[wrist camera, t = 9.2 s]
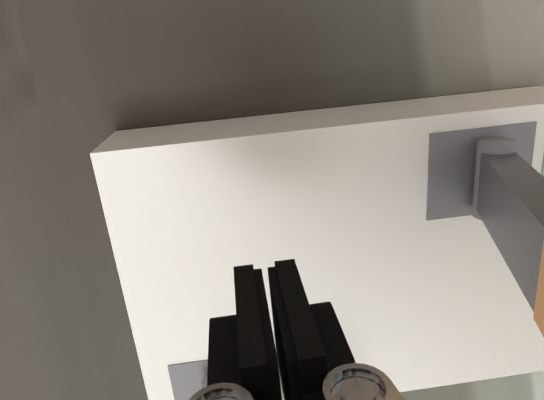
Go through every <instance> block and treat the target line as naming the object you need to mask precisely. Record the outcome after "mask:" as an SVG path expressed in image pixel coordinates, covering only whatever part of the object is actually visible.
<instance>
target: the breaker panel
mask: <svg viewBox="0 0 544 400" xmlns="http://www.w3.org/2000/svg"><path fill="white" fill-rule="evenodd" d="M487 137H505V138H511V139H514V140H516V141H517V145H516V153H517V154H519V155H520V156H521V157H522V158H523V159H524V160H525V161H526V162H527V163H529V164H530V165H531V166H532V167H533V168H534V169H535V170H536V171H537V172H539V173H540V174H541V175H542V176H543V177H544V87H541V86H532V87H522V88H513V89H504V90H494V91H485V92H476V93H466V94H457V95H448V96H438V97H429V98H419V99H410V100H401V101H391V102H382V103H373V104H363V105H354V106H345V107H335V108H326V109H317V110H307V111H298V112H288V113H279V114H270V115H260V116H251V117H242V118H232V119H223V120H214V121H204V122H195V123H186V124H176V125H167V126H157V127H148V128H139V129H129V130H120V131H115V132H114V133H113V134H112V135H110V136H109V137H108V138H107V139H106V140H105V141H104V142H102V143H101V144H100V145H99V146H98V147H97V148H96V149H94V150H93V151H92V152H91V153H90V156H91V160H92V165H93V169H94V173H95V177H96V181H97V185H98V190H99V194H100V198H101V202H102V206H103V211H104V215H105V219H106V223H107V227H108V232H109V236H110V240H111V244H112V248H113V253H114V257H115V261H116V265H117V269H118V274H119V278H120V282H121V286H122V290H123V295H124V299H125V303H126V307H127V311H128V316H129V320H130V324H131V328H132V332H133V337H134V341H135V345H136V349H137V353H138V358H139V362H140V366H141V370H142V374H143V379H144V383H145V387H146V391H147V395H148V400H189V399H190V398H191V397H192V396H193V395H194V394H195V393H196V392H198V391H199V390H201V389H202V384H201V382H202V379H203V377H204V376H205V375H206V374H207V371H208V342H209V320H210V318H215V317H222V316H229V315H236V303H235V286H234V269H233V267H235V266H243V265H250V264H253V268H254V269H260V268H261V269H262V275H263V280H264V286H265V291H266V297H267V303H268V308H269V314H270V320H271V325H272V331H273V337H274V342H275V336H274V326H273V317H272V307H271V297H270V288H269V278H268V267H275V264H274V262H275V261H281V260H288V259H294V260H295V263H296V266H297V269H298V272H299V275H300V278H301V281H302V284H303V287H304V290H305V293H306V296H307V299H308V302H309V304H315V303H322V302H331V304H332V306H333V309H334V311H335V313H336V316H337V318H338V321H339V323H340V325H341V328H342V330H343V333H344V335H345V338H346V340H347V342H348V345H349V347H350V350H351V352H352V355H353V357H354V359H355V362H356V363H361V364H367V365H370V366H373V367H376V368H377V369H379V370H381V371H382V372H384V373H385V374H386V375H387V376H388V377H389V378H390V379H391V381H392V382H393V384H394V385H395V386H396V388H397V389H398V391H399V392H405V391H411V390H418V389H425V388H431V387H438V386H445V385H452V384H458V383H465V382H472V381H479V380H485V379H492V378H499V377H506V376H512V375H519V374H526V373H533V372H539V371H544V337H543V335H542V334H541V332H540V330H539V328H538V326H537V325H536V323H535V321H534V319H533V314H534V312H533V310H532V309H531V307H530V305H529V303H528V301H527V300H526V298H525V296H524V294H523V293H522V291H521V289H520V287H519V285H518V284H517V282H516V280H515V278H514V276H513V275H512V273H511V271H510V269H509V268H508V266H507V264H506V262H505V260H504V259H503V257H502V255H501V253H500V251H499V250H498V248H497V246H496V244H495V243H494V241H493V239H492V237H491V235H490V234H489V232H488V230H487V228H486V226H485V225H484V223H483V221H482V220H479V219H476V218H474V217H473V216H472V203H473V190H474V176H475V162H476V148H477V140H478V139H481V138H487ZM275 348H276V345H275ZM278 367H279V366H278ZM279 376H280V372H279ZM280 385H281V395H282V400H284V394H283V389H282V383H281V377H280Z"/></svg>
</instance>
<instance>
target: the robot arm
mask: <svg viewBox="0 0 544 400" xmlns="http://www.w3.org/2000/svg"><path fill="white" fill-rule="evenodd" d="M274 264H275V267H268V278H269V288H270V297H271V307H272V317H273V326H274V336H275V342H274V337H273V331H272V325H271V320H270V314H269V308H268V303H267V297H266V291H265V286H264V280H263V275H262V269H261V268H260V269H254V268H253V264H250V265H243V266H235V267H233V269H234V286H235V303H236V315H229V316H222V317H215V318H210V320H209V342H208V371H207V387H204V388H202V389H201V390H199V391H198V392H196V393H195V394H194V395H193V396H192V397H191V398H190V399H189V400H282V395H281V385H280V377H281V383H282V389H283V394H284V400H405V399H404V398H403V396H402V395H401V393H400V392H399V391H398V389H397V388H396V386H395V385H394V384H393V382H392V381H391V379H390V378H389V377H388V376H387V375H386V374H385V373H384V372H382V371H381V370H379V369H377V368H376V367H373V366H370V365H367V364H361V363H356V362H355V359H354V357H353V355H352V352H351V350H350V347H349V345H348V342H347V340H346V338H345V335H344V333H343V330H342V328H341V325H340V323H339V321H338V318H337V316H336V313H335V311H334V309H333V306H332V304H331V302H322V303H315V304H309V302H308V299H307V296H306V293H305V290H304V287H303V284H302V281H301V278H300V275H299V272H298V269H297V266H296V263H295V260H294V259H288V260H281V261H275V262H274ZM275 345H276V348H275ZM278 366H279V367H278ZM279 372H280V376H279Z"/></svg>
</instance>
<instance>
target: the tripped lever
mask: <svg viewBox="0 0 544 400" xmlns="http://www.w3.org/2000/svg"><path fill="white" fill-rule="evenodd" d="M516 145H517V141H516V140H514V139H511V138H505V137H487V138H481V139H478V140H477V148H476V162H475V176H474V190H473V203H472V216H473V217H474V218H476V219H479V220H482V221H483V223H484V225H485V226H486V228H487V230H488V232H489V234H490V235H491V237H492V239H493V241H494V243H495V244H496V246H497V248H498V250H499V251H500V253H501V255H502V257H503V259H504V260H505V262H506V264H507V266H508V268H509V269H510V271H511V273H512V275H513V276H514V278H515V280H516V282H517V284H518V285H519V287H520V289H521V291H522V293H523V294H524V296H525V298H526V300H527V301H528V303H529V305H530V307H531V309H532V310H533V312H534V314H533V319H534V321H535V323H536V325H537V326H538V328H539V330H540V332H541V334H542V335H543V337H544V177H543V176H542V175H541V174H540V173H539V172H537V171H536V170H535V169H534V168H533V167H532V166H531V165H530V164H529V163H527V162H526V161H525V160H524V159H523V158H522V157H521V156H520V155H519V154H517V153H516Z"/></svg>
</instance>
